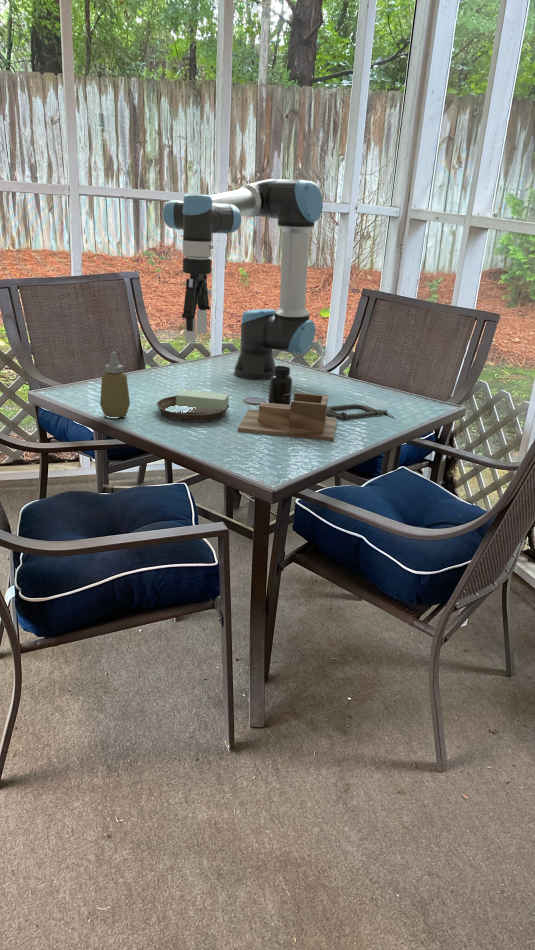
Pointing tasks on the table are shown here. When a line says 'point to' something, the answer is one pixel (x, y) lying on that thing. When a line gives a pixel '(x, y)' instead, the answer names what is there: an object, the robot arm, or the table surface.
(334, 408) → the c clamp
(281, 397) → the supplement bottle
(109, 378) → the squeeze bottle
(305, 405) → the cradle
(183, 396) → the bar
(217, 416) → the plant saucer
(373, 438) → the table surface
